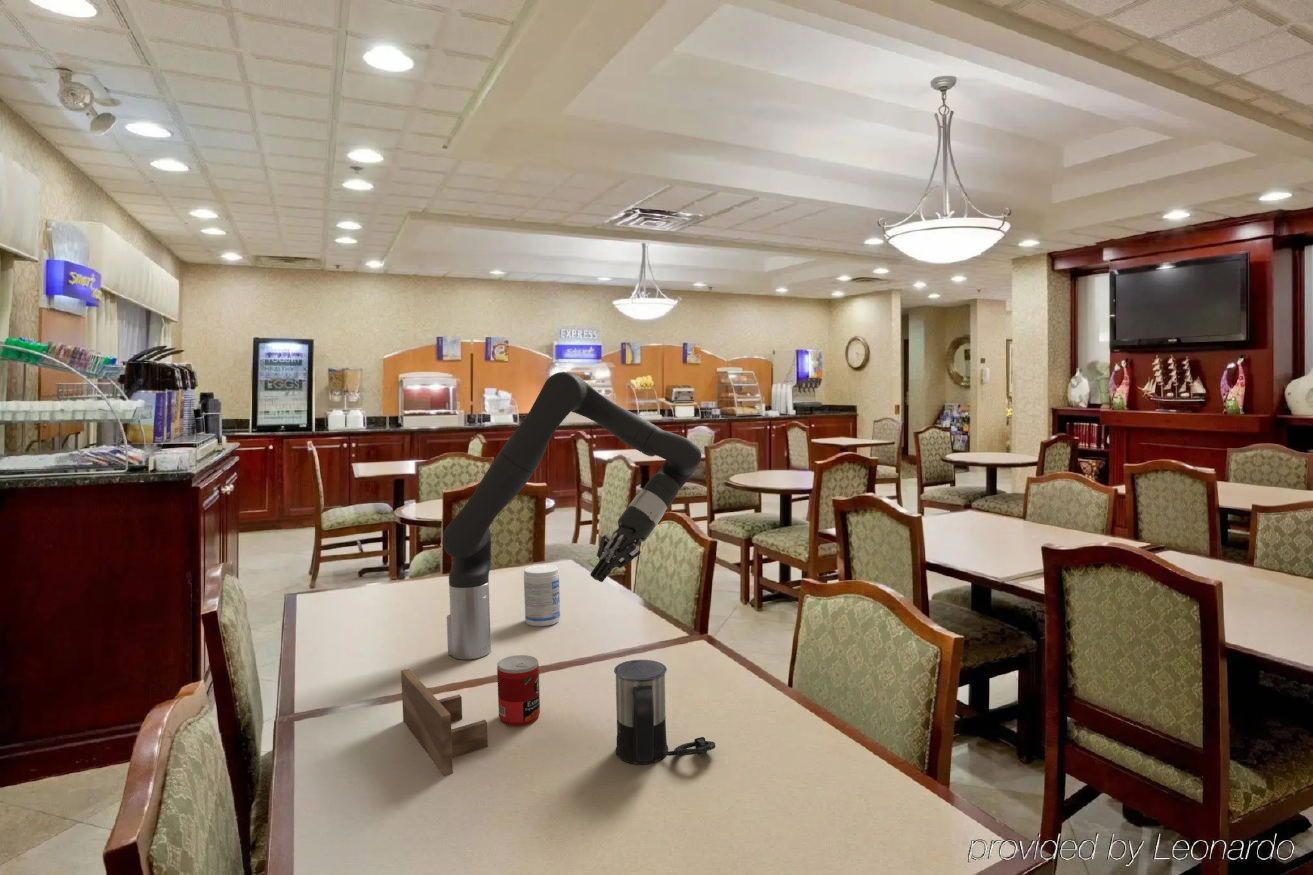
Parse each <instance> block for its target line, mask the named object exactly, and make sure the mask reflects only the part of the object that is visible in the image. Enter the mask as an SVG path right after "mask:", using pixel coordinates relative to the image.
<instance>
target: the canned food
mask: <svg viewBox="0 0 1313 875" xmlns="http://www.w3.org/2000/svg"><path fill="white" fill-rule="evenodd" d="M496 670H497V671H496V673H497V674H496V675H497V676H496V677H497V698H498V699H497V700H498V702H497V703H498V718H499V720H500V722H501V723H502V724H504V725H506V726H510V727H521V726H522V727H524V726H527V725H530V724H533V723H534V722H536V721H537V720H538V718H539V716H540V712H541V707H540V706H541V704H540V703H541V702H540V701H541V699H540V698H541V697H540V696H541V695H540V666H539V660H538V658H536V657H534V656H531V655H525V654H518V655H517V654H515V655H510V656H507V657H503V658H502V659H500V660H498V662H497V666H496Z"/></svg>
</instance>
